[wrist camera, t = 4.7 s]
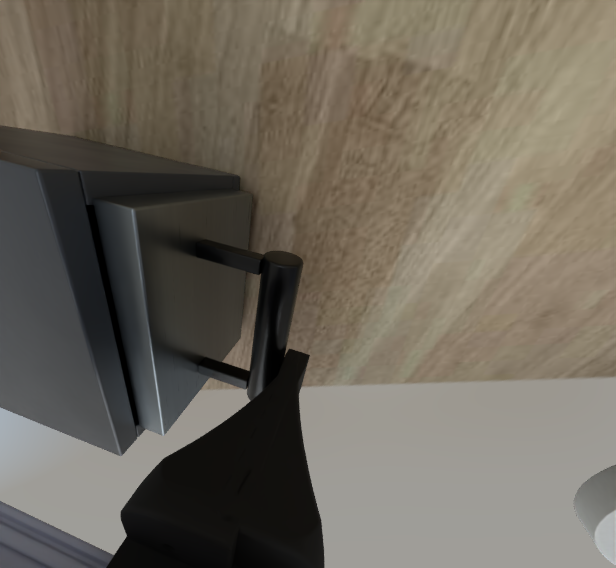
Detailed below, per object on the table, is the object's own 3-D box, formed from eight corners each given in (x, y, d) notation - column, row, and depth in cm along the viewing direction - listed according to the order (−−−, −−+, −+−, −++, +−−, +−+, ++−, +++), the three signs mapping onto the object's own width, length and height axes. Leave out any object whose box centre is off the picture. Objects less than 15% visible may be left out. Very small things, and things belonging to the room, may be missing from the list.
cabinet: (240, 175, 12) (36, 168, 5) (230, 332, 17) (121, 457, 9) (72, 136, 13) (-315, 78, 6) (106, 292, 18) (-82, 374, 10)
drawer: (328, 212, 11) (286, 249, 5) (295, 355, 15) (250, 470, 9) (91, 154, 13) (-158, 130, 7) (120, 299, 17) (-18, 366, 11)
